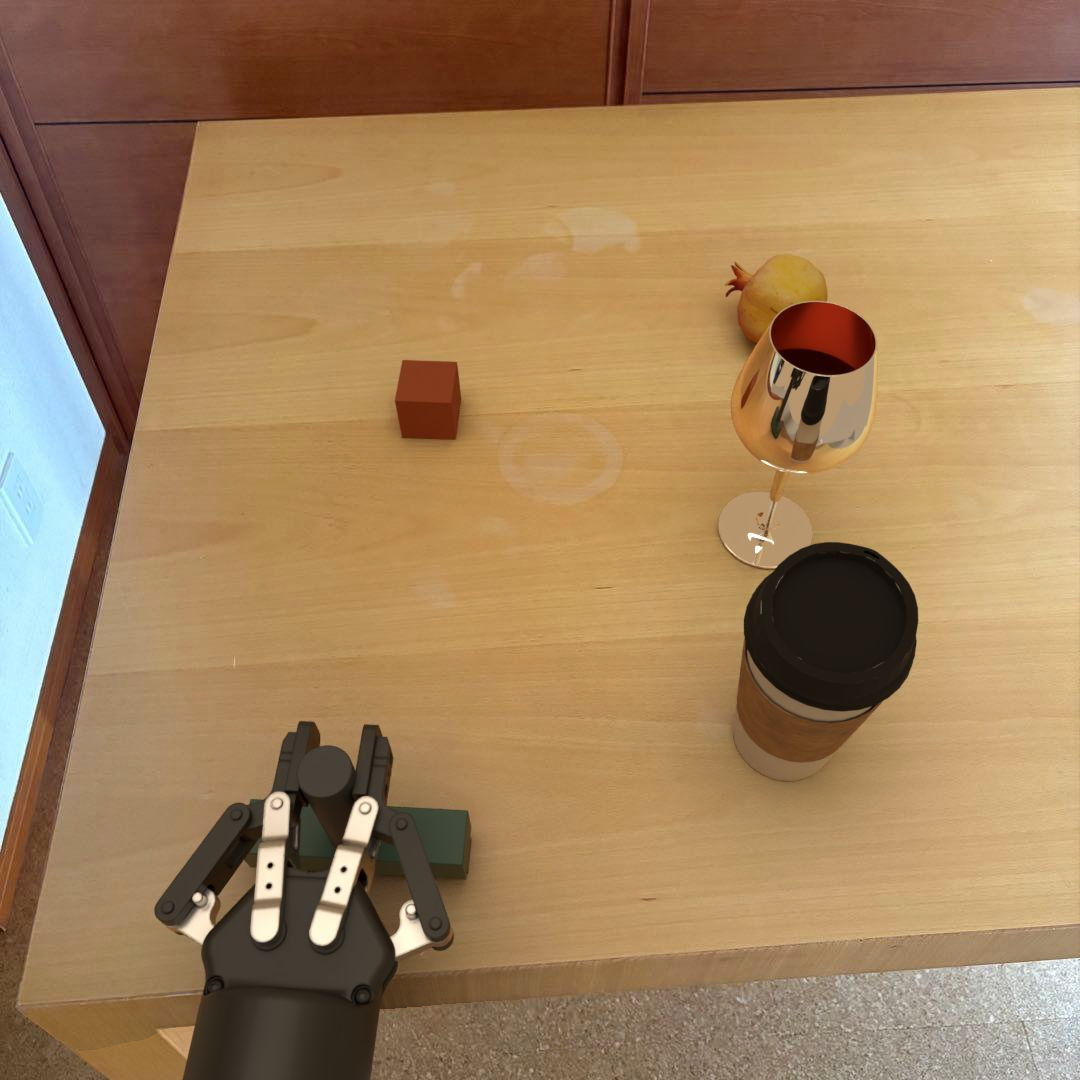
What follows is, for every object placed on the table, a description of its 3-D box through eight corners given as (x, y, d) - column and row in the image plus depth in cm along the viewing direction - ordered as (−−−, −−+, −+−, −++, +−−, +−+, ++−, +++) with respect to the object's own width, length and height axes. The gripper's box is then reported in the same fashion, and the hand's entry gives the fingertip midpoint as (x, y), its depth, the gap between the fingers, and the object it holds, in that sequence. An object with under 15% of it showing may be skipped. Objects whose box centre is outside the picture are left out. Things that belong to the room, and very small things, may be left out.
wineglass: (691, 492, 71) (727, 296, 56) (802, 474, 72) (867, 276, 57) (724, 589, 66) (773, 404, 51) (843, 569, 67) (925, 381, 52)
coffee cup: (876, 716, 61) (958, 586, 49) (815, 831, 57) (887, 720, 45) (752, 648, 64) (799, 508, 51) (685, 752, 60) (720, 628, 48)
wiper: (253, 871, 56) (189, 795, 46) (264, 819, 58) (205, 734, 48) (467, 883, 56) (448, 808, 46) (472, 830, 57) (455, 746, 48)
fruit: (877, 275, 75) (762, 219, 78) (837, 307, 71) (717, 246, 74) (842, 351, 80) (736, 296, 83) (804, 386, 75) (692, 325, 79)
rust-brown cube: (401, 437, 74) (394, 400, 71) (408, 397, 76) (402, 359, 73) (455, 439, 74) (451, 402, 71) (461, 399, 76) (457, 361, 73)
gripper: (432, 1132, 37) (476, 702, 47) (61, 1108, 38) (181, 688, 47) (450, 1146, 43) (485, 764, 53) (131, 1125, 44) (224, 751, 54)
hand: (341, 730), depth 50 cm, fingers closed on wiper, 2 cm apart
